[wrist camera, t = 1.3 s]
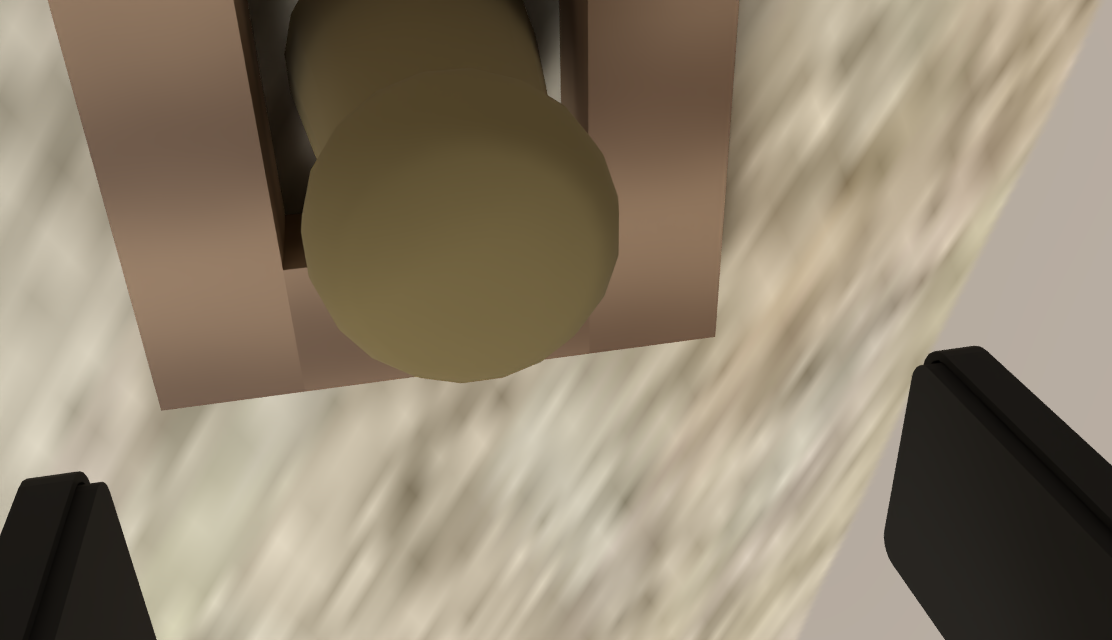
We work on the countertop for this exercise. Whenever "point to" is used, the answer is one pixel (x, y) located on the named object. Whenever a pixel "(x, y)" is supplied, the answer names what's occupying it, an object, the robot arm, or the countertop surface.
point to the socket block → (275, 238)
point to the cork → (446, 186)
